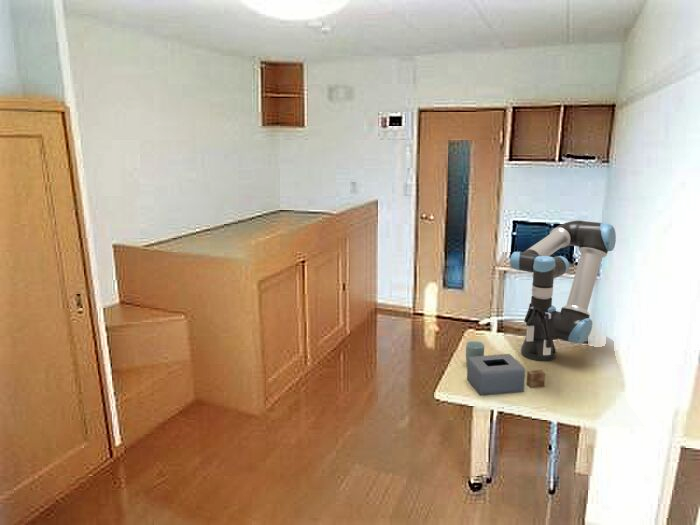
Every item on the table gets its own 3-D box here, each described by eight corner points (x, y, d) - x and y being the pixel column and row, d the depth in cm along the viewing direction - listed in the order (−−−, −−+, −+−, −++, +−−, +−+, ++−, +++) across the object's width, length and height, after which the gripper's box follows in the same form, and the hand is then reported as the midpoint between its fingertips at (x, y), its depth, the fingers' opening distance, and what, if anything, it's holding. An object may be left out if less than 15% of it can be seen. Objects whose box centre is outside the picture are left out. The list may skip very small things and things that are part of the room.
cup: (483, 370, 222) (484, 348, 219) (465, 368, 223) (466, 347, 221) (483, 362, 229) (484, 341, 227) (465, 361, 231) (466, 340, 228)
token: (540, 383, 209) (541, 369, 208) (544, 386, 206) (545, 373, 205) (526, 384, 209) (527, 371, 207) (530, 388, 206) (531, 374, 204)
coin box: (507, 375, 216) (509, 353, 214) (523, 391, 203) (525, 368, 200) (466, 379, 214) (467, 357, 211) (480, 395, 200) (481, 372, 198)
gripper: (517, 287, 210) (514, 336, 215) (549, 307, 186) (544, 361, 191) (535, 286, 211) (531, 335, 216) (568, 305, 187) (563, 360, 192)
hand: (537, 347), depth 204 cm, fingers open, 13 cm apart
